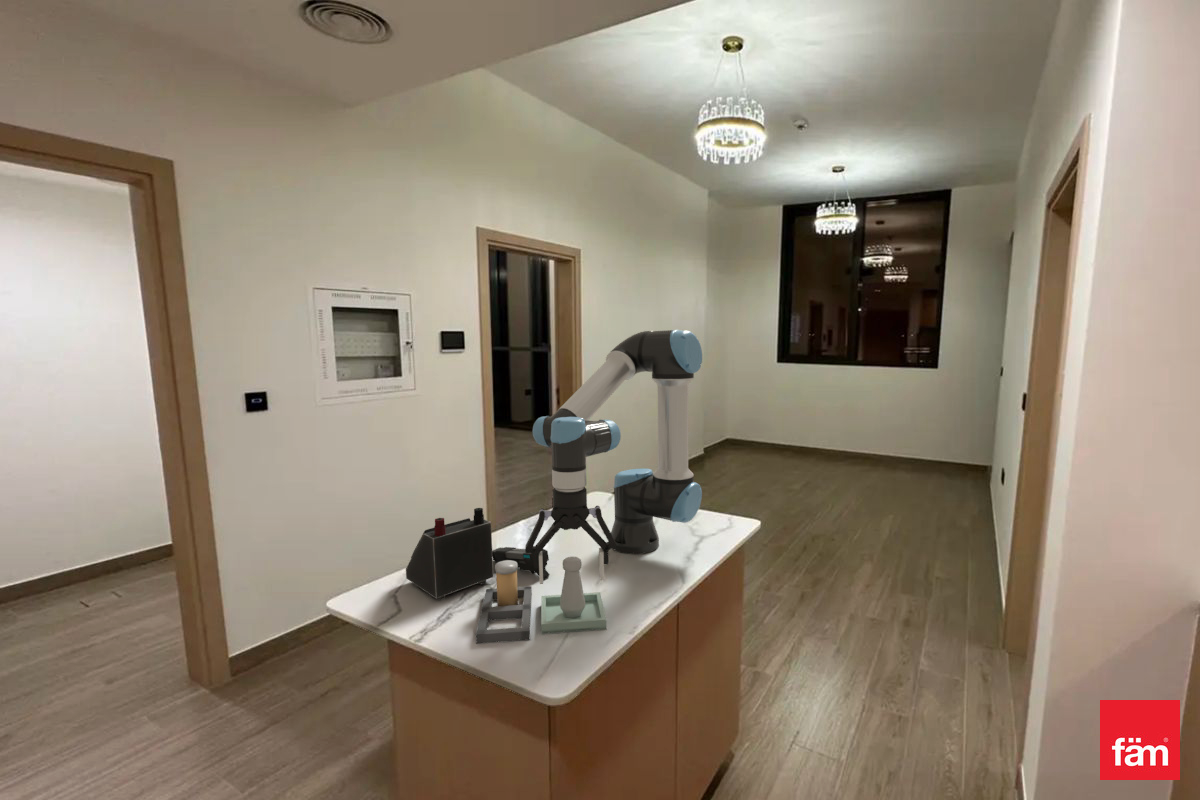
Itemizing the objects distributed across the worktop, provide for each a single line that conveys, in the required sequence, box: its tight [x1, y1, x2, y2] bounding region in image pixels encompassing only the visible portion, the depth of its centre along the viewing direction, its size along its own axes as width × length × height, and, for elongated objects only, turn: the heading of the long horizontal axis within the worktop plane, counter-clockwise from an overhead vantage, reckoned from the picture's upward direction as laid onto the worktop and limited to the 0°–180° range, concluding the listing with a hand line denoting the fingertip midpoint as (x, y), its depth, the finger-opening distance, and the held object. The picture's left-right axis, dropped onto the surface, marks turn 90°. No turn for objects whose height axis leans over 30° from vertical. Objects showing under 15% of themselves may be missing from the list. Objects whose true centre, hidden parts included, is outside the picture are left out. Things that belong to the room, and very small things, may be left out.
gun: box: [492, 546, 550, 581], centre depth 149 cm, size 4×20×10 cm, turn 50°
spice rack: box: [475, 560, 533, 645], centre depth 122 cm, size 11×21×10 cm, turn 6°
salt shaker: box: [560, 556, 585, 618], centre depth 122 cm, size 6×6×13 cm
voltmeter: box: [405, 507, 494, 601], centre depth 140 cm, size 16×16×20 cm
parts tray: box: [540, 591, 608, 635], centre depth 122 cm, size 14×13×2 cm
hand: (571, 579), depth 121 cm, fingers open, 13 cm apart
